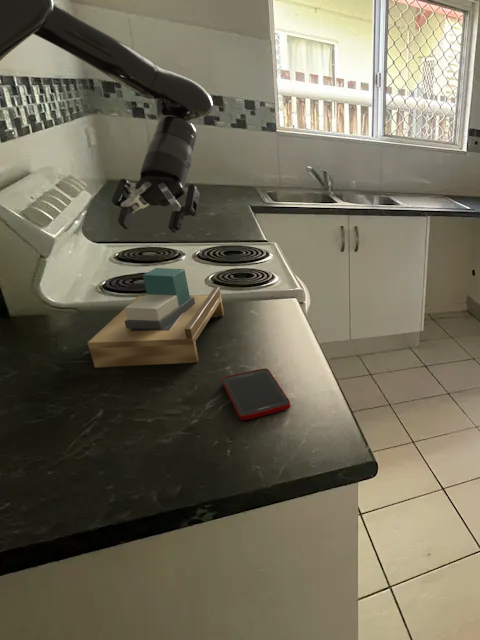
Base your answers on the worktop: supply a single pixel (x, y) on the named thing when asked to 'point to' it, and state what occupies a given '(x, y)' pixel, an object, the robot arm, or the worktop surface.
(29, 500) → the worktop surface
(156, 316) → the trainer
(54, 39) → the robot arm
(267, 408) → the cell phone
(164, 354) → the shoe shelf
